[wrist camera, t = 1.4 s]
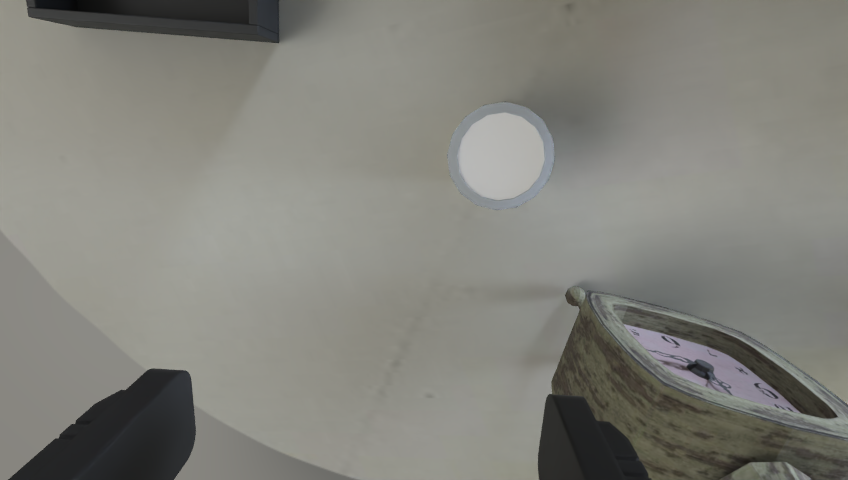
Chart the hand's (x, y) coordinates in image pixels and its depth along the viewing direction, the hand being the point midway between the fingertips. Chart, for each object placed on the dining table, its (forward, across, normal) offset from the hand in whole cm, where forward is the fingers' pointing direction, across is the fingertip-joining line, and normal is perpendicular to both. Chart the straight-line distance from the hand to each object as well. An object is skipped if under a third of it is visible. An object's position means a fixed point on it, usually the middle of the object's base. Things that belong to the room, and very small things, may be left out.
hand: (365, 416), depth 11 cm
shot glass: (+29, -6, -4) cm, 30 cm away
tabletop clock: (+29, -18, +12) cm, 36 cm away
